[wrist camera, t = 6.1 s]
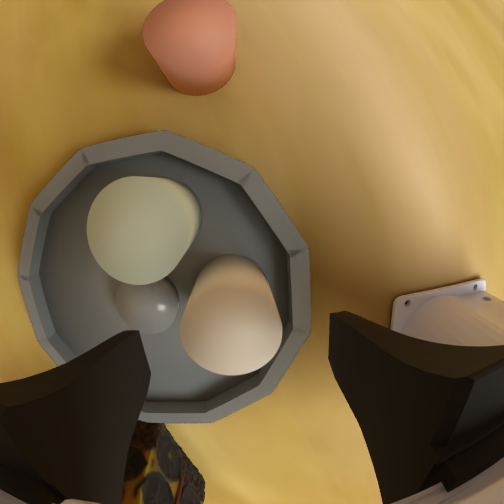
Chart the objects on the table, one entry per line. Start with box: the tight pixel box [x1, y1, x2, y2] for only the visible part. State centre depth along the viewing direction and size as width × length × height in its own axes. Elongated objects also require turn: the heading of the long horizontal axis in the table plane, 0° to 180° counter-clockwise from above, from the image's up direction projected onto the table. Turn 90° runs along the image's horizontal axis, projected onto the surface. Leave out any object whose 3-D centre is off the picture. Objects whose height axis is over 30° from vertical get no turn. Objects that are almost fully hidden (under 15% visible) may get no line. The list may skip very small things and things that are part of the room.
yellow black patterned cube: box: [121, 420, 205, 504], centre depth 15 cm, size 10×10×10 cm
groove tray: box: [18, 130, 311, 423], centre depth 16 cm, size 18×18×2 cm
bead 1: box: [142, 0, 236, 96], centre depth 12 cm, size 4×4×5 cm
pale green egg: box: [87, 176, 202, 285], centre depth 12 cm, size 4×4×5 cm
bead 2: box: [180, 254, 283, 375], centre depth 13 cm, size 4×4×5 cm
